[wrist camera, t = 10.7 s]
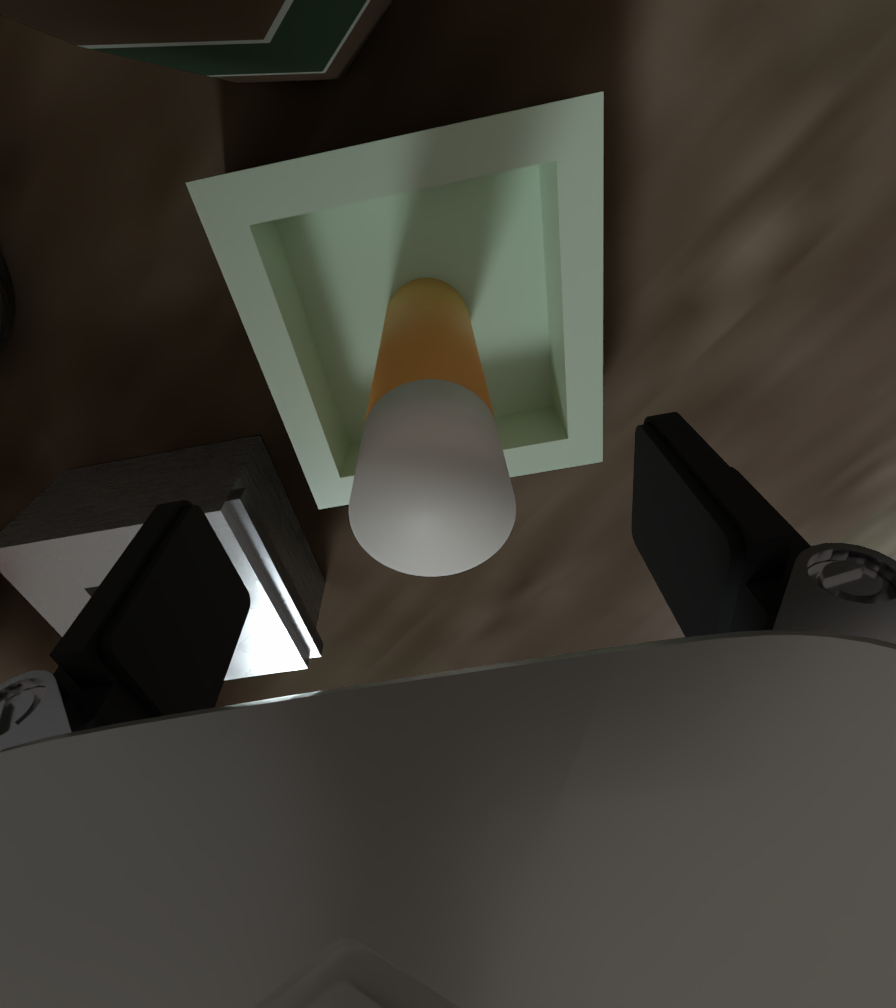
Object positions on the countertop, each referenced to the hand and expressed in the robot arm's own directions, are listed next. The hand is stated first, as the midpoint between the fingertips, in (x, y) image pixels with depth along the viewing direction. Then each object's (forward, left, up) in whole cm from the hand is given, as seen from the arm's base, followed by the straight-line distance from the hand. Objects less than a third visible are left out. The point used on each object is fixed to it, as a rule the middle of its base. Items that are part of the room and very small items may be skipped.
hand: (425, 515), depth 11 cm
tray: (0, 0, -13) cm, 13 cm away
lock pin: (0, 0, -13) cm, 13 cm away
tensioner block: (-9, +14, -13) cm, 21 cm away
